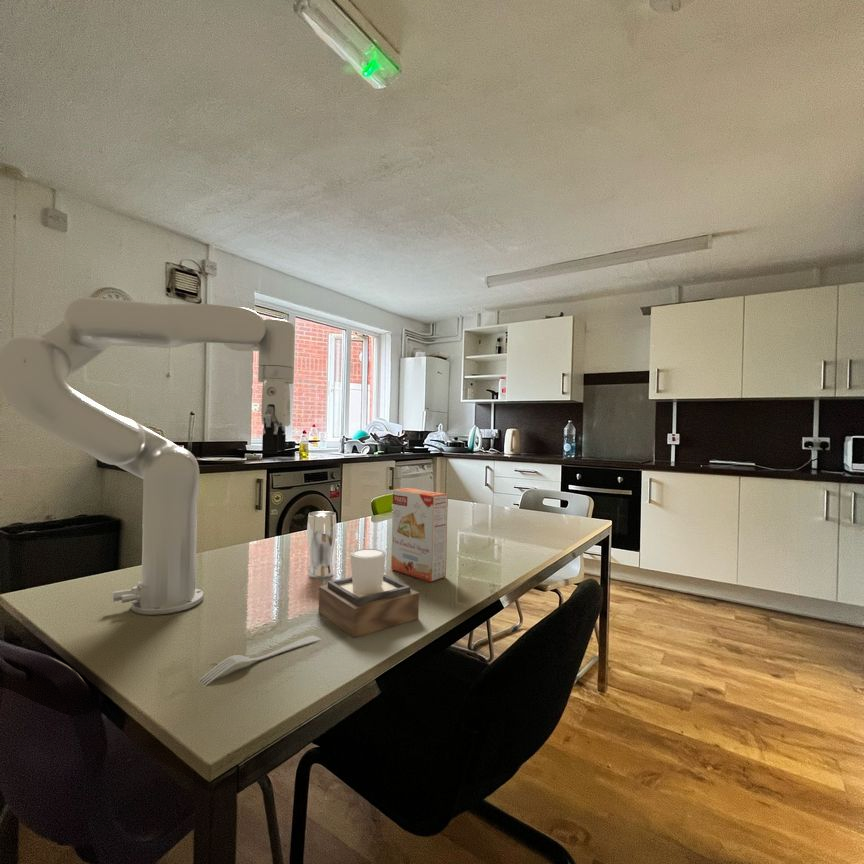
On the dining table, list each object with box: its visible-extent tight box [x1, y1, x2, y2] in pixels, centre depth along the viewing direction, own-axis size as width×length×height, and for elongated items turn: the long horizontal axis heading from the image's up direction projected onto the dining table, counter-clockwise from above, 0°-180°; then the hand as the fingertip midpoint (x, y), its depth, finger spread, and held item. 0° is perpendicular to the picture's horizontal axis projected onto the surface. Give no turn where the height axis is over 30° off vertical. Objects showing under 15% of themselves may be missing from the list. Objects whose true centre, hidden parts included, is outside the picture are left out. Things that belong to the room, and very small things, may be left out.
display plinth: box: [318, 574, 420, 638], centre depth 91 cm, size 14×14×6 cm
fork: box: [197, 635, 322, 687], centre depth 73 cm, size 3×21×3 cm, turn 140°
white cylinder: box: [350, 548, 387, 594], centre depth 90 cm, size 7×7×7 cm
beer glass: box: [306, 510, 337, 579], centre depth 115 cm, size 7×7×15 cm
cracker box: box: [390, 487, 449, 583], centre depth 117 cm, size 14×6×21 cm, turn 48°
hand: (274, 452), depth 105 cm, fingers open, 9 cm apart
